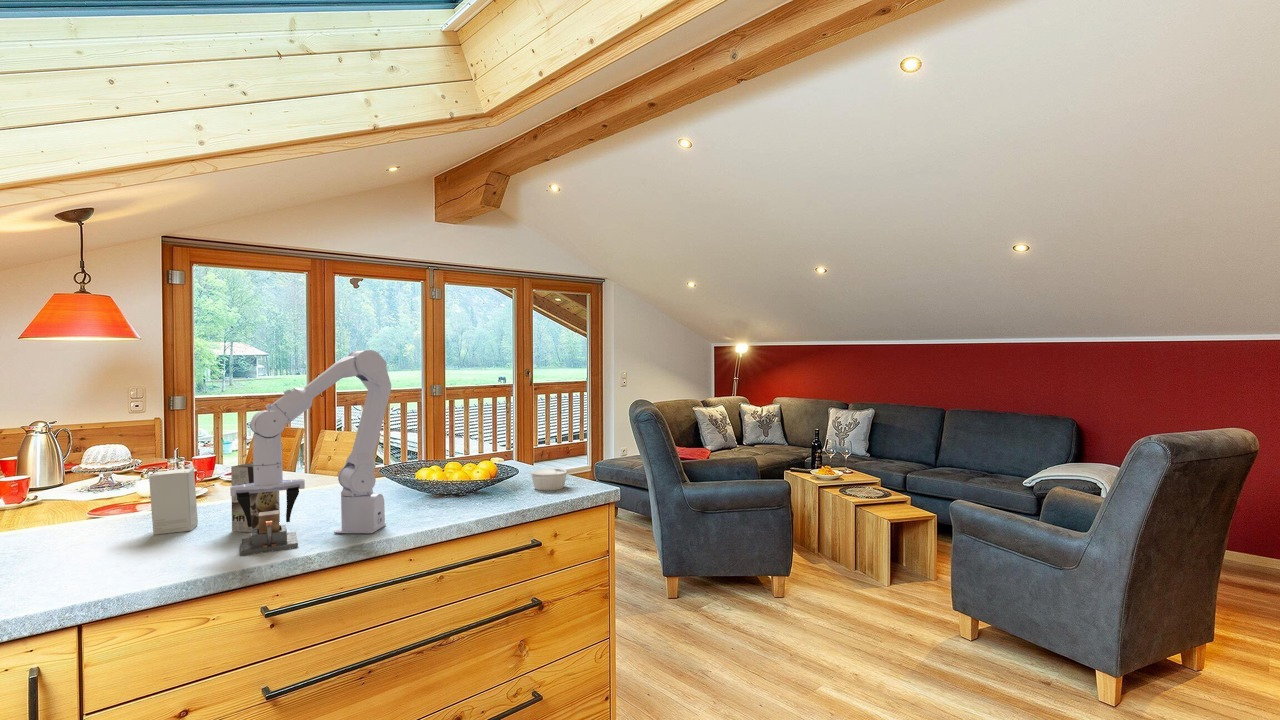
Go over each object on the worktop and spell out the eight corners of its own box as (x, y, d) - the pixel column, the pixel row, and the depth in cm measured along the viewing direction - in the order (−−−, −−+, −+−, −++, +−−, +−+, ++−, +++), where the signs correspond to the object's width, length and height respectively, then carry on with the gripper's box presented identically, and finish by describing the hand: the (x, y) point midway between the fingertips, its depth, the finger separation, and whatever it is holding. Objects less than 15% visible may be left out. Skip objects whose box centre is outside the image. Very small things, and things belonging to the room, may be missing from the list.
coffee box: (253, 532, 158) (252, 466, 158) (230, 531, 159) (229, 466, 159) (281, 523, 167) (280, 460, 167) (259, 522, 168) (258, 459, 168)
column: (279, 536, 150) (279, 510, 150) (280, 541, 146) (279, 513, 146) (259, 539, 148) (258, 512, 148) (259, 544, 144) (258, 516, 144)
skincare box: (198, 525, 165) (196, 467, 165) (190, 531, 160) (189, 471, 159) (158, 529, 162) (157, 470, 162) (150, 535, 157) (148, 474, 156)
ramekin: (574, 487, 207) (574, 470, 206) (546, 493, 198) (546, 476, 198) (552, 482, 214) (551, 467, 214) (524, 488, 206) (524, 471, 206)
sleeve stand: (296, 535, 155) (295, 508, 155) (298, 547, 145) (297, 518, 145) (241, 543, 149) (241, 515, 149) (240, 555, 140) (239, 525, 140)
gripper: (229, 469, 140) (230, 532, 140) (304, 463, 147) (306, 522, 147) (230, 464, 146) (232, 525, 146) (303, 458, 153) (304, 516, 153)
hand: (269, 523), depth 147 cm, fingers open, 7 cm apart
